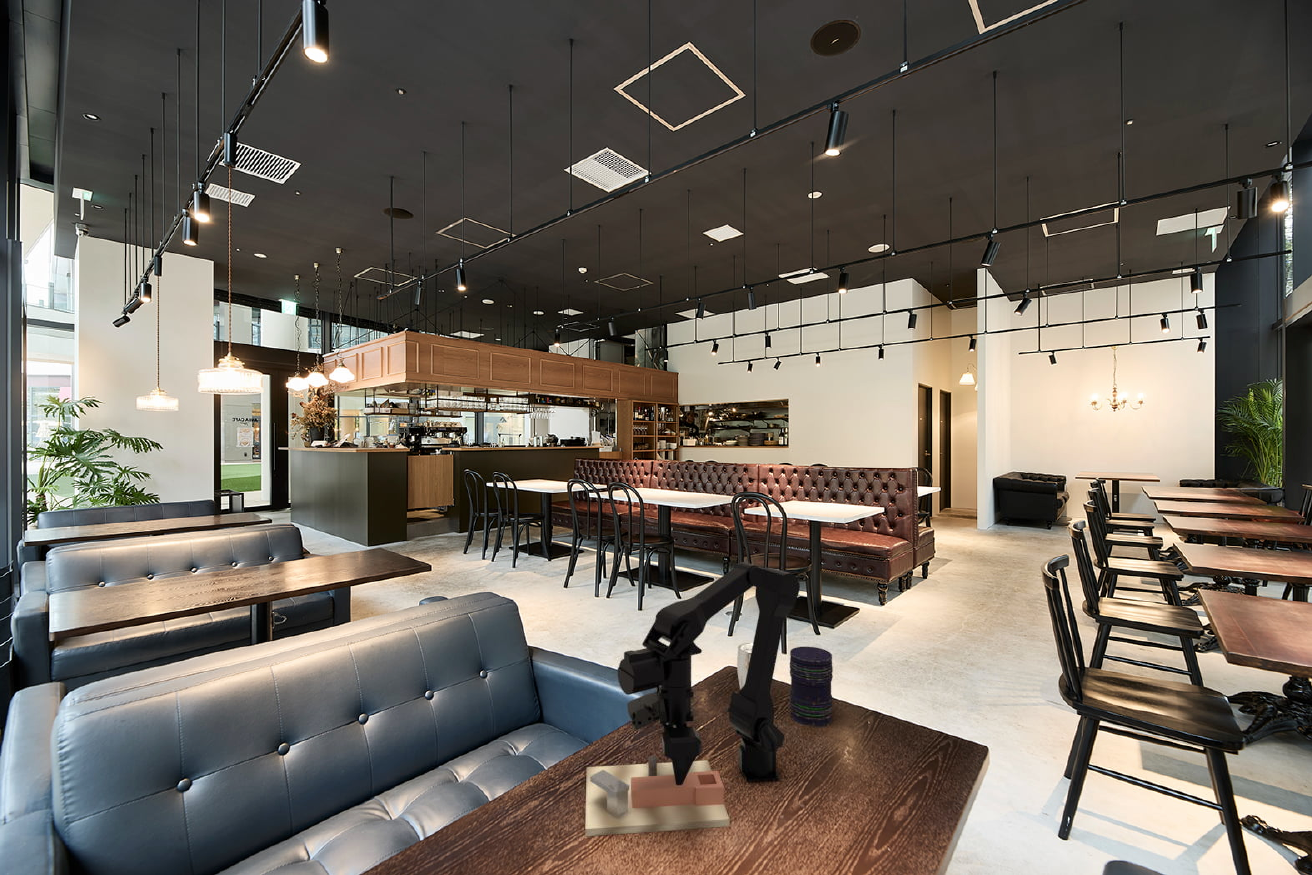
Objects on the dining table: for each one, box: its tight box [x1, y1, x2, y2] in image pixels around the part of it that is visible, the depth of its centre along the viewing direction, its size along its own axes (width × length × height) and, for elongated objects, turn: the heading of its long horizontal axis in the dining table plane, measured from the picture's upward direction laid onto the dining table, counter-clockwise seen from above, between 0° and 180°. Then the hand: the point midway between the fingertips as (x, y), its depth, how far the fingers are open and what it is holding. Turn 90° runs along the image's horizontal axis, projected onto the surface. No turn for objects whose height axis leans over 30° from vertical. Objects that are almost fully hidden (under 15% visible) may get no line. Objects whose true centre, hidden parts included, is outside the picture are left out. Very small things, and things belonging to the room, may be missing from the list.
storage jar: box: [789, 646, 834, 728], centre depth 134 cm, size 10×10×15 cm
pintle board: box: [584, 755, 730, 837], centre depth 103 cm, size 24×18×4 cm
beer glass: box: [736, 642, 753, 690], centre depth 138 cm, size 7×7×15 cm
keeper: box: [590, 770, 629, 818], centre depth 98 cm, size 3×7×4 cm, turn 46°
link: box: [631, 770, 725, 808], centre depth 101 cm, size 16×5×3 cm, turn 96°
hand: (675, 769), depth 101 cm, fingers open, 9 cm apart
